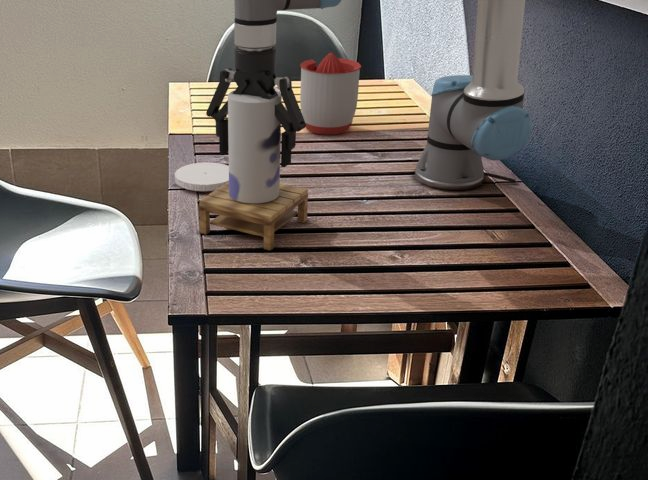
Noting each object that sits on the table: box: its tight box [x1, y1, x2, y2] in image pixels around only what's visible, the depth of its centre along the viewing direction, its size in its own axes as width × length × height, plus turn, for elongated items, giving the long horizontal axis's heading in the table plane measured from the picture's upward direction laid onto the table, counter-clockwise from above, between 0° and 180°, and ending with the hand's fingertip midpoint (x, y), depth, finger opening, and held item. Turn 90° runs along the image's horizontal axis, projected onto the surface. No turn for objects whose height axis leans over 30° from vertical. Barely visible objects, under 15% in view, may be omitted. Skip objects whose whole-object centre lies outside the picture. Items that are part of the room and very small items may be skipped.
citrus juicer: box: [299, 52, 362, 135], centre depth 213 cm, size 16×17×20 cm
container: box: [227, 90, 283, 204], centre depth 156 cm, size 10×10×20 cm
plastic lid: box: [174, 161, 229, 192], centre depth 184 cm, size 14×14×2 cm
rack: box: [198, 182, 309, 251], centre depth 163 cm, size 16×16×7 cm
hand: (254, 159), depth 157 cm, fingers open, 13 cm apart
